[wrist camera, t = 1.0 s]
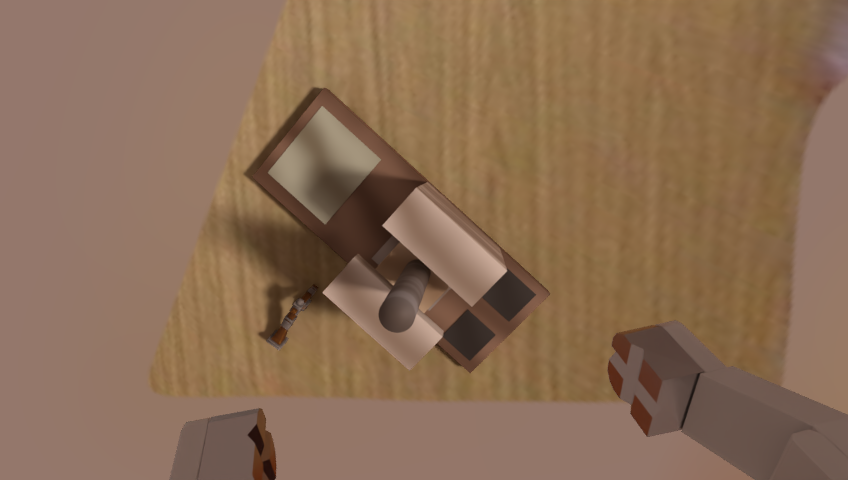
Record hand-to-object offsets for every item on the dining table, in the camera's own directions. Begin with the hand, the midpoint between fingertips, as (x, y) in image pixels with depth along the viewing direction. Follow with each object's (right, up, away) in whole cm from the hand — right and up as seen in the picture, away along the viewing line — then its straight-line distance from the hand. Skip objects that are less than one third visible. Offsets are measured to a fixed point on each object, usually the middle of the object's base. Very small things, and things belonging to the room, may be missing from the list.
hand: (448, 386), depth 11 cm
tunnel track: (-3, +4, +42) cm, 42 cm away
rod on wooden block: (-1, +1, +40) cm, 40 cm away
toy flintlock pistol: (-15, -5, +45) cm, 47 cm away
